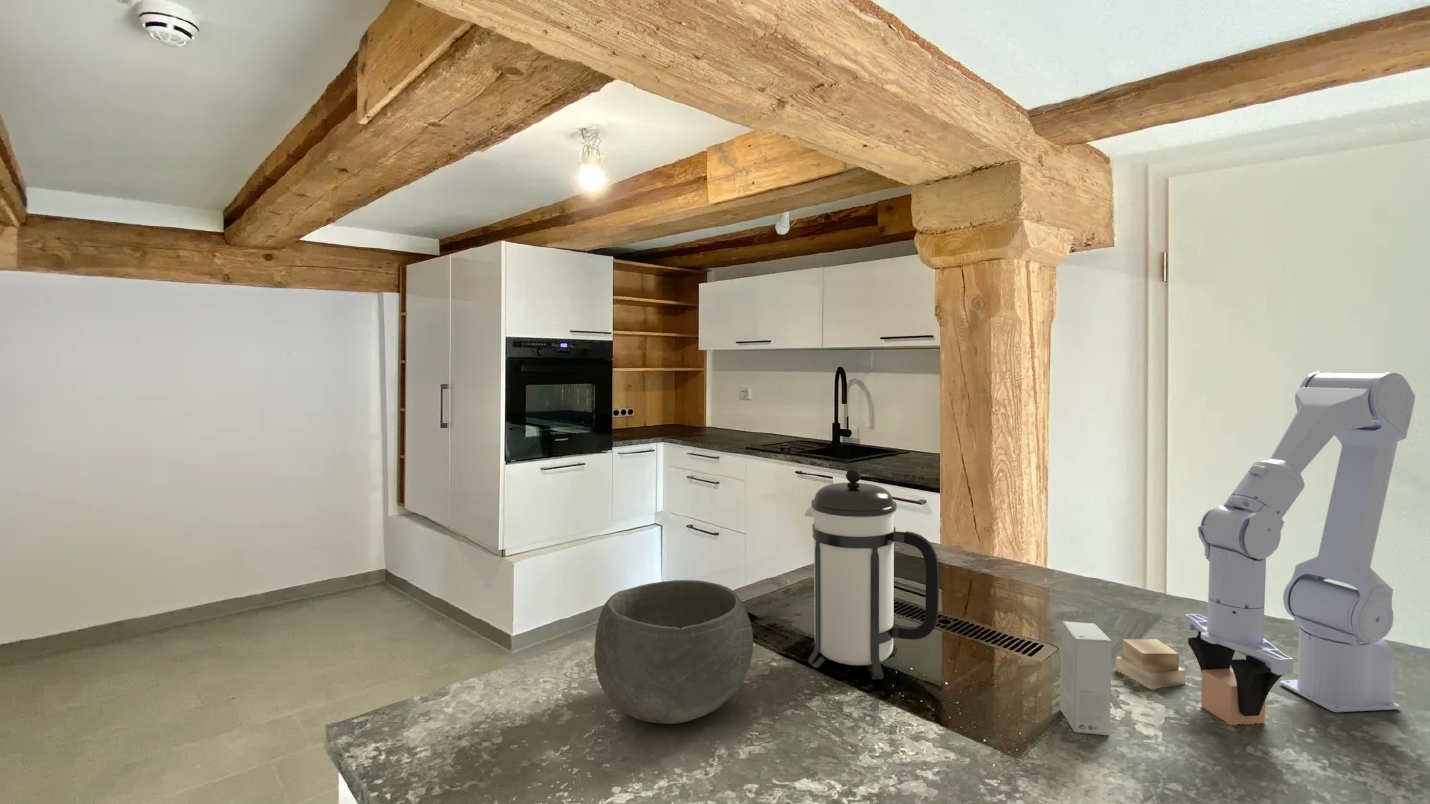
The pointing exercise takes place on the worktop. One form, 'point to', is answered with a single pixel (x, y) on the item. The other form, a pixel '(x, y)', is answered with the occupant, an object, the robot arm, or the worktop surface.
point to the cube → (1225, 697)
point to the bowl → (672, 649)
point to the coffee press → (861, 575)
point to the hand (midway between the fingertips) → (1232, 704)
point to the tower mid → (1150, 655)
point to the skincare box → (1086, 677)
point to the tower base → (1150, 675)
